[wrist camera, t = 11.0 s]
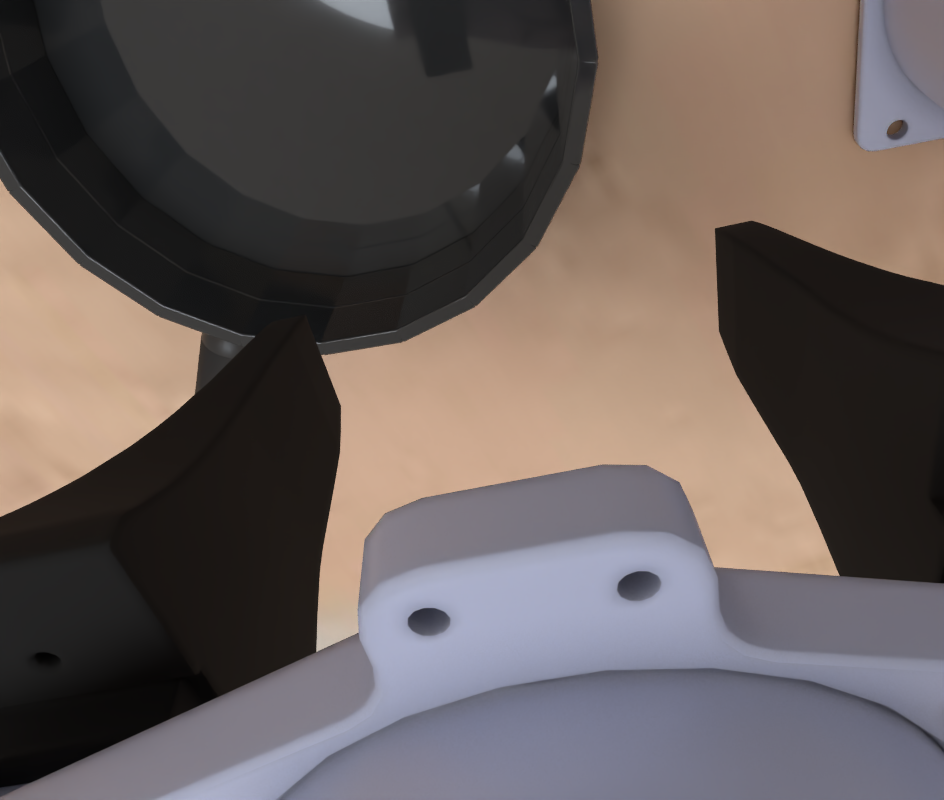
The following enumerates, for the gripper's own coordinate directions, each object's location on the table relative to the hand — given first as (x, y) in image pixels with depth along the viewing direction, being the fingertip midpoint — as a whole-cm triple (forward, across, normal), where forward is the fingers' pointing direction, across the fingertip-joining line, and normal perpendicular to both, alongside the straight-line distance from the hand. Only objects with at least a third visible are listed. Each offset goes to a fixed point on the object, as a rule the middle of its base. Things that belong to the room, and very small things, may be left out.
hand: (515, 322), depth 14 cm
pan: (+11, +4, -4) cm, 12 cm away
